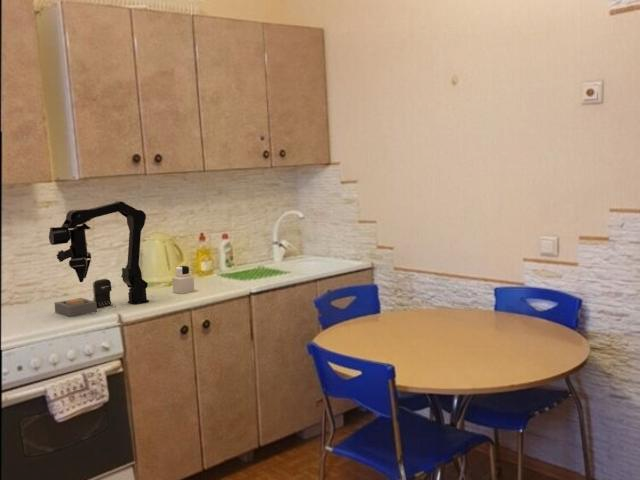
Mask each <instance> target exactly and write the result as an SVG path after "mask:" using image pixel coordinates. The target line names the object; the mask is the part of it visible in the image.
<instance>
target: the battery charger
mask: <svg viewBox="0 0 640 480" xmlns="http://www.w3.org/2000/svg"><path fill="white" fill-rule="evenodd" d="M92 291H93V293H92V294H93V301H94V302H96V304H97V309H98V308H100V307H101V308H105V307H109V306H112V300H111V291H112V282H111V280H110V279H108V278H101V279H96V280H94V281H93V283H92ZM101 308H100V309H101Z"/></svg>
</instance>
